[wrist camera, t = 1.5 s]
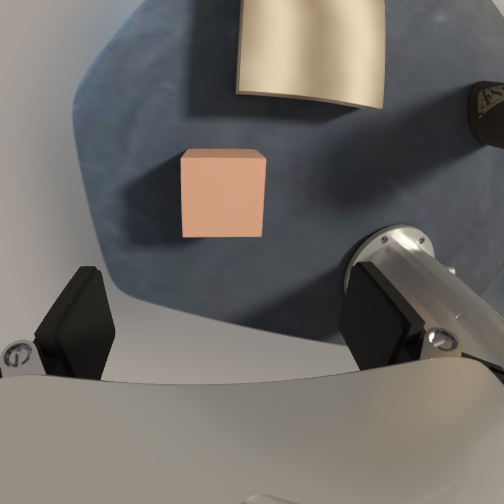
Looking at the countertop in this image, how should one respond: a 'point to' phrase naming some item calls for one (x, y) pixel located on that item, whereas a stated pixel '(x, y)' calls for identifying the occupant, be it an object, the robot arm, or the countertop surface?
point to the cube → (222, 192)
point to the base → (313, 50)
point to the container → (487, 112)
